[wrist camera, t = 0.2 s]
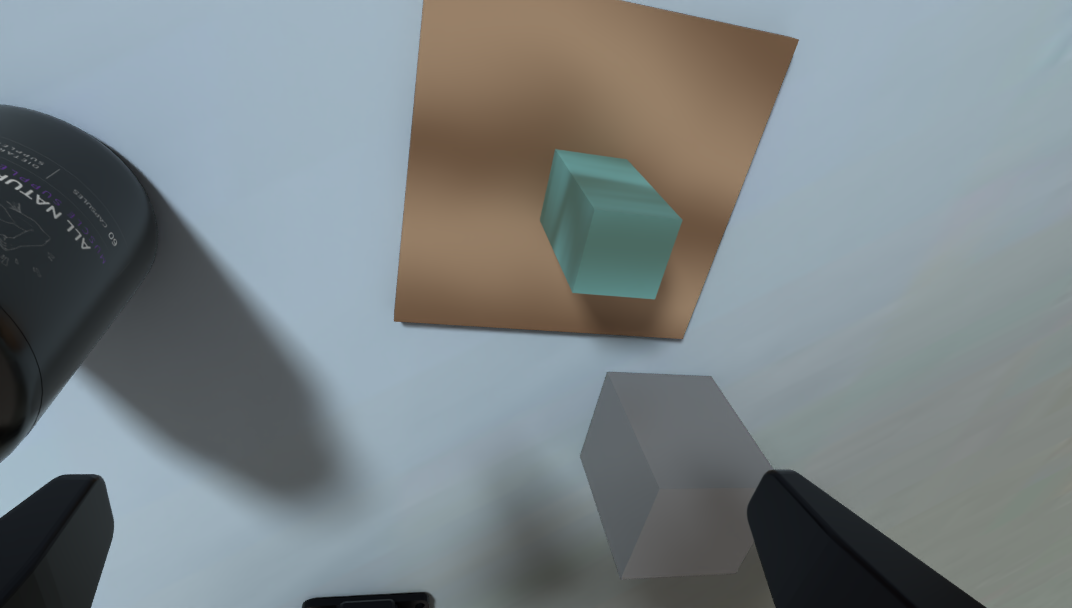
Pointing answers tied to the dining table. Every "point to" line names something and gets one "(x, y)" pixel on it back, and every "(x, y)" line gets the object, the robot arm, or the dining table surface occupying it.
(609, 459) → the grey rectangular block
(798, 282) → the dining table surface
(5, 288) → the supplement bottle
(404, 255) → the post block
